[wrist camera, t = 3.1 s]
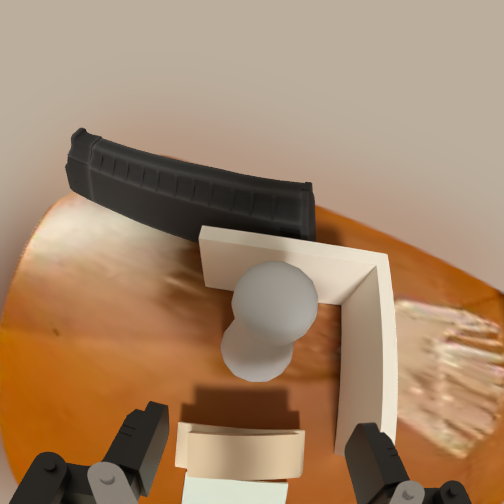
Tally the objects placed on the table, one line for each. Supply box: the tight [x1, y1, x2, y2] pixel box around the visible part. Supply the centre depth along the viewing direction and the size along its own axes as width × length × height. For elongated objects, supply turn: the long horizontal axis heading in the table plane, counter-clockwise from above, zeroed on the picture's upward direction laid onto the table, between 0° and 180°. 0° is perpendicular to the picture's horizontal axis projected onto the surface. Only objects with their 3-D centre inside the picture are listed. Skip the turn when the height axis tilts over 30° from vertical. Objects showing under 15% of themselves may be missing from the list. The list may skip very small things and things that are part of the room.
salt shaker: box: [220, 261, 318, 382], centre depth 18 cm, size 6×6×13 cm
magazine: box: [65, 128, 316, 243], centre depth 26 cm, size 17×3×30 cm
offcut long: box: [175, 422, 305, 474], centre depth 18 cm, size 10×4×2 cm, turn 86°
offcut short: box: [187, 431, 301, 480], centre depth 16 cm, size 8×4×2 cm, turn 90°
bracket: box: [199, 226, 398, 457], centre depth 20 cm, size 15×16×8 cm
